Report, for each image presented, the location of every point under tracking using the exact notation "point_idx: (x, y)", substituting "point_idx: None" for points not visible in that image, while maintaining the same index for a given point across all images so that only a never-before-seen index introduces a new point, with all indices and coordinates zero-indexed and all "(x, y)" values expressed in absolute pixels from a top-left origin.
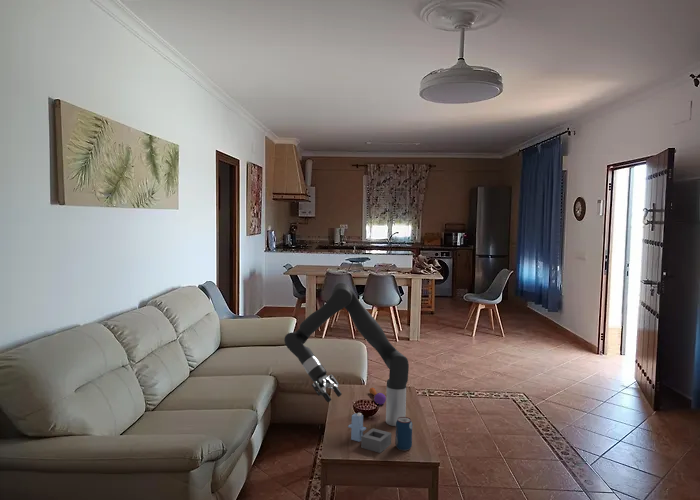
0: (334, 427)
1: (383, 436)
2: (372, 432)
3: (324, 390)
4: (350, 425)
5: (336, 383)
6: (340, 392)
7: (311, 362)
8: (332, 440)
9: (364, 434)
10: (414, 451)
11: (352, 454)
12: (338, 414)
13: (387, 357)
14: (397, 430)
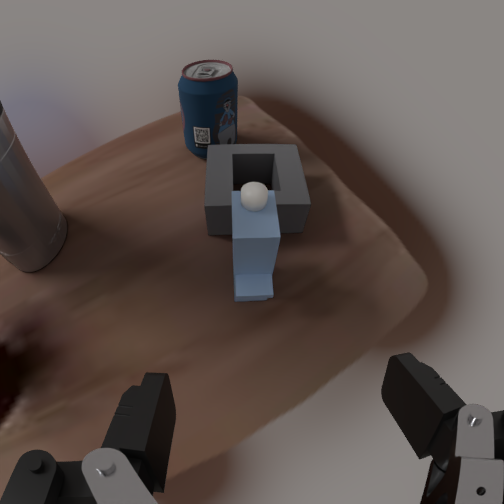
0: (196, 442)
1: (253, 150)
2: None
3: (484, 428)
4: (260, 286)
5: (52, 489)
6: (146, 385)
7: None
8: (329, 360)
9: (286, 202)
10: None
11: (362, 231)
12: None
13: None
14: (234, 102)
